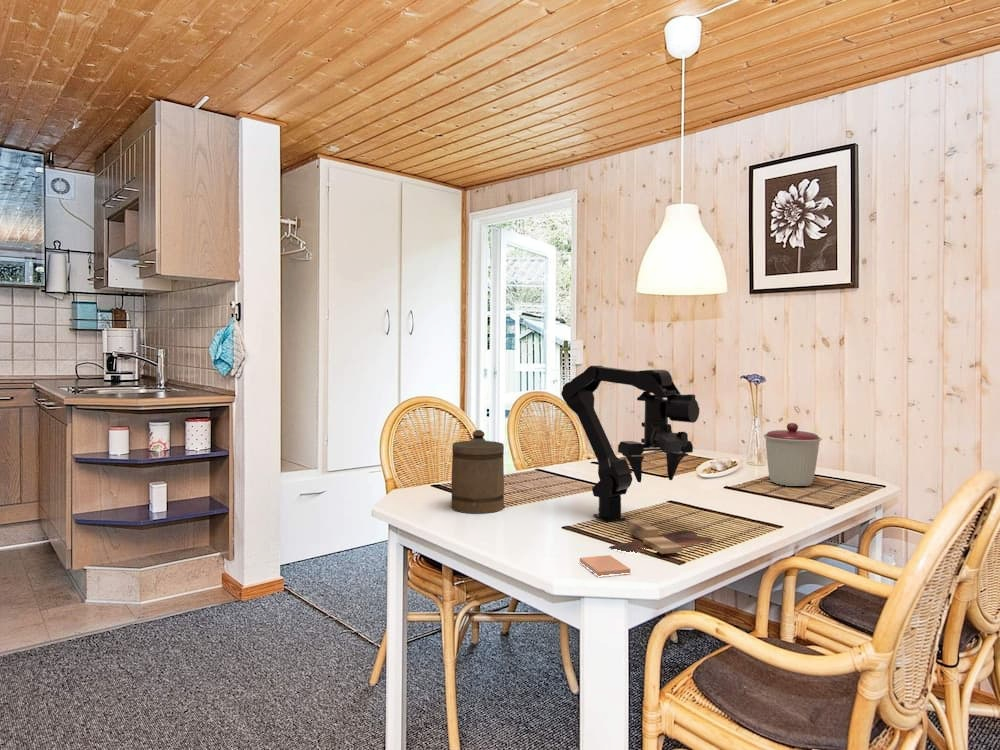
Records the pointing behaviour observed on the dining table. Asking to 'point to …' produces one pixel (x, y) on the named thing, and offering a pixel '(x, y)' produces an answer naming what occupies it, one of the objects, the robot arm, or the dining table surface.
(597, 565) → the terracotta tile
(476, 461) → the wooden container
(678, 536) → the wooden tablet
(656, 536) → the tan paddle
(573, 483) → the dining table surface
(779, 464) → the canister
